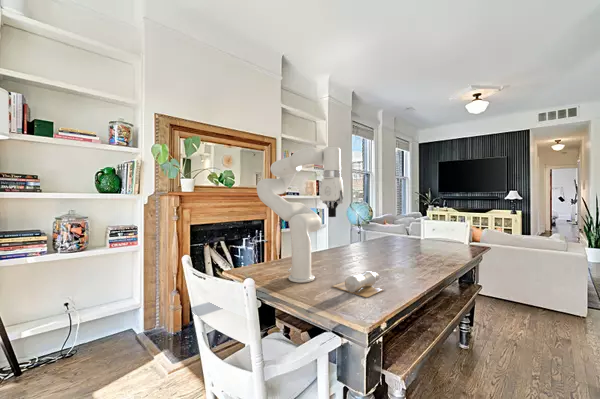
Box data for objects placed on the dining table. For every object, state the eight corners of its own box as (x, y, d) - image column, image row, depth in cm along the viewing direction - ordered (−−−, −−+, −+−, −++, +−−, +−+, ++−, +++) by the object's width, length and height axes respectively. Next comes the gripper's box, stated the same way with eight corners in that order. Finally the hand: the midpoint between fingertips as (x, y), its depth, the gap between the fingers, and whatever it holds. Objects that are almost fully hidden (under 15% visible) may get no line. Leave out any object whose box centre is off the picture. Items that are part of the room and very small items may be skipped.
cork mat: (332, 286, 125) (332, 285, 125) (349, 281, 133) (349, 280, 133) (366, 297, 111) (366, 296, 111) (383, 290, 119) (383, 289, 119)
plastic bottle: (358, 288, 112) (385, 279, 125) (349, 273, 115) (376, 266, 129) (348, 296, 115) (375, 286, 129) (340, 281, 119) (367, 273, 132)
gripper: (314, 175, 127) (314, 216, 127) (339, 173, 116) (339, 218, 116) (325, 176, 132) (325, 215, 132) (351, 174, 121) (351, 217, 121)
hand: (332, 216), depth 124 cm, fingers closed
